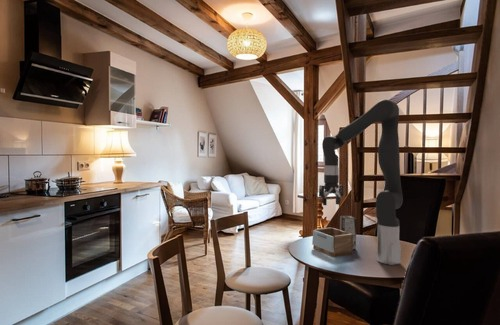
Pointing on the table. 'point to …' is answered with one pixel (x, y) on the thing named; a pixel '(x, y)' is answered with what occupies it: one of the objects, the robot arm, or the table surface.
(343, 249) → the pickup bed
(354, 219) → the coffee box
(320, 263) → the table surface
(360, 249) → the table surface
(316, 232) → the panel
